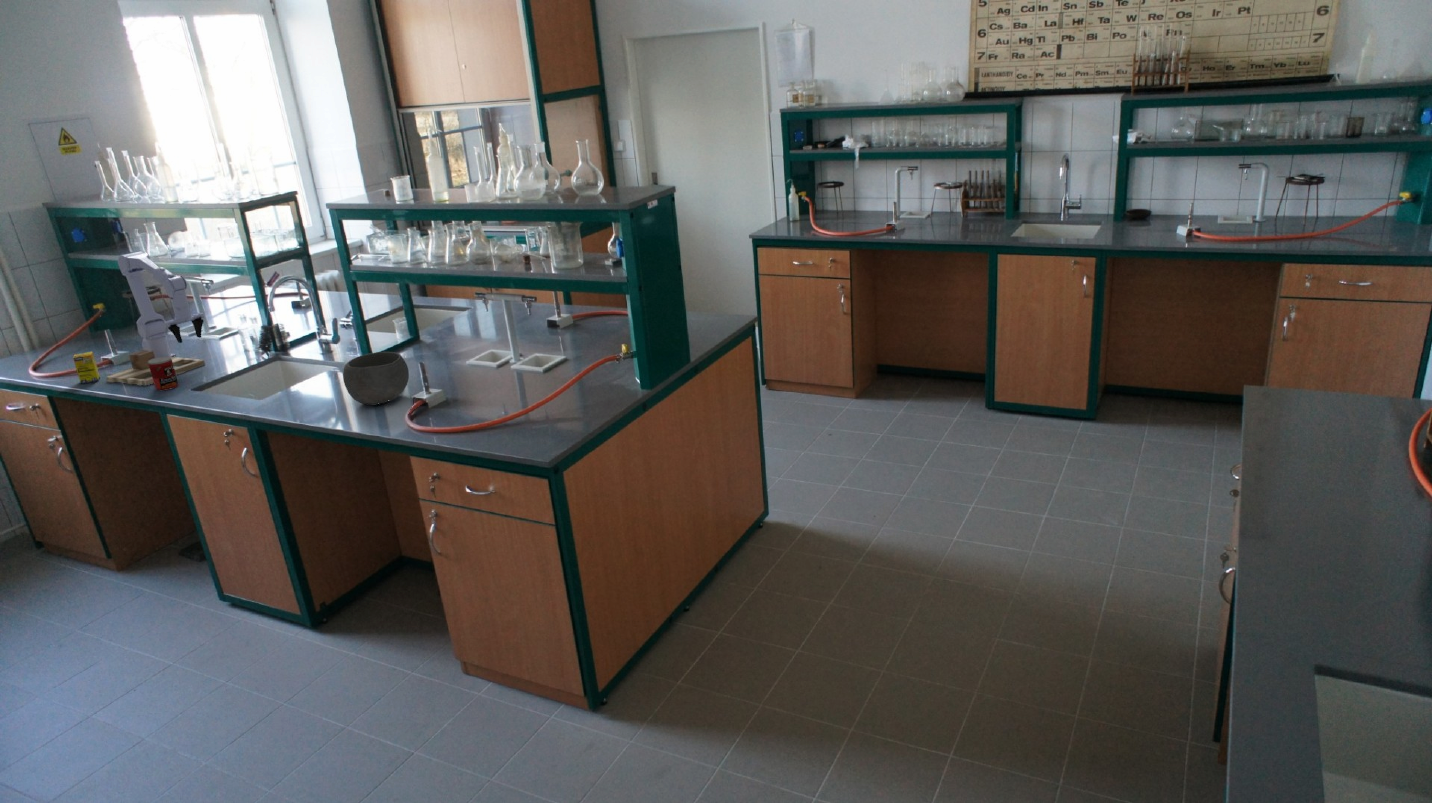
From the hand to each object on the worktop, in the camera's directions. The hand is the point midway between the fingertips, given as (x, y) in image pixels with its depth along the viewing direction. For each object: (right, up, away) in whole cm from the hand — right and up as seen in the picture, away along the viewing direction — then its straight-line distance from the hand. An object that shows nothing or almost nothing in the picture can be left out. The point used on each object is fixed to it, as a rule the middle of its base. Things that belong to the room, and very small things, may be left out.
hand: (189, 339), depth 371 cm
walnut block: (-15, -11, -4) cm, 19 cm away
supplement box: (-32, -17, -10) cm, 38 cm away
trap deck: (-10, -14, -6) cm, 17 cm away
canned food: (+5, -20, -24) cm, 31 cm away
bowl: (+96, -25, -53) cm, 112 cm away
